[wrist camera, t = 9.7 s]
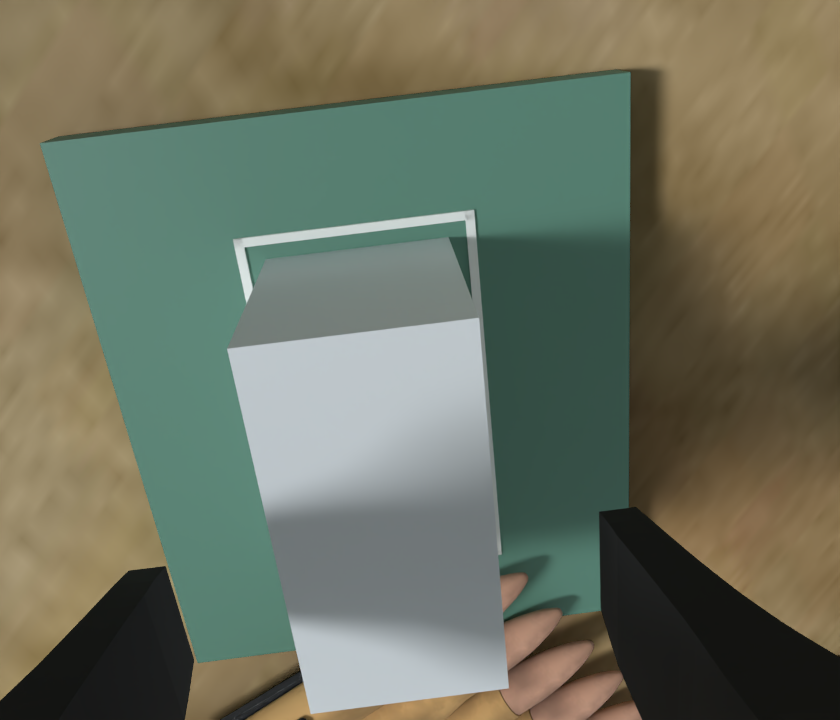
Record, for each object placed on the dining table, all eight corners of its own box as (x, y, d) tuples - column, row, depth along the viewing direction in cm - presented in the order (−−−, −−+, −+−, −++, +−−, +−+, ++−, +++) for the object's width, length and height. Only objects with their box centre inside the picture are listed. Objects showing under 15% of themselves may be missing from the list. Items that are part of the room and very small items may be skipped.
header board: (615, 69, 16) (698, 84, 12) (617, 582, 22) (674, 710, 18) (58, 136, 16) (-47, 175, 12) (205, 636, 22) (167, 777, 18)
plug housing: (448, 237, 17) (478, 317, 12) (476, 535, 20) (508, 688, 15) (265, 259, 17) (227, 348, 12) (323, 555, 20) (310, 714, 15)
